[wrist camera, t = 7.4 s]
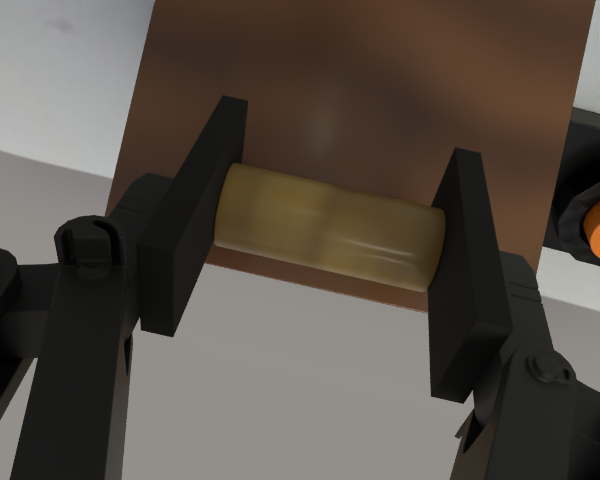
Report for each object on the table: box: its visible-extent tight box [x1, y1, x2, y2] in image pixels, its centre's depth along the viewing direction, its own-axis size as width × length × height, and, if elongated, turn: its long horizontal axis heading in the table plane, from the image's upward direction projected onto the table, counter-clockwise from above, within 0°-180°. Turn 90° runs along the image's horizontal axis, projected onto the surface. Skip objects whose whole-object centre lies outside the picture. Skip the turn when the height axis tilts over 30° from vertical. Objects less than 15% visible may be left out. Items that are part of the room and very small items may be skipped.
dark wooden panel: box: [105, 0, 596, 314], centre depth 17 cm, size 14×16×6 cm
